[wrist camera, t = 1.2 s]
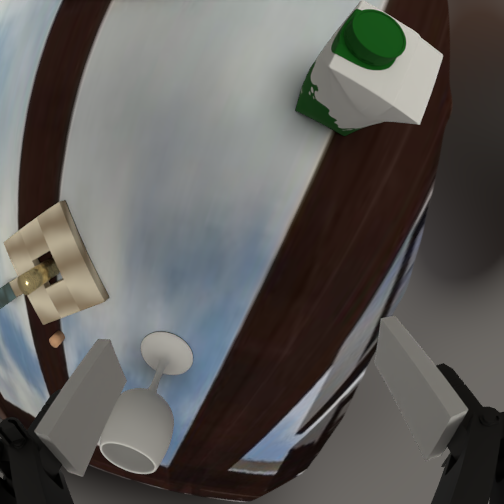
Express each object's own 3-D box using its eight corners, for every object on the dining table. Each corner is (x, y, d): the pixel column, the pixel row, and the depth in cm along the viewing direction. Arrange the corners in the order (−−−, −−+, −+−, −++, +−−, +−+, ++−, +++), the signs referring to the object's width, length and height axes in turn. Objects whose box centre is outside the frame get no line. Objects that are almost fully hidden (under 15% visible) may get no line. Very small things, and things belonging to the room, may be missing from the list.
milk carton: (312, 59, 31) (366, -21, 12) (372, 92, 32) (466, 49, 13) (285, 113, 33) (324, 60, 14) (348, 146, 34) (440, 136, 15)
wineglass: (202, 349, 43) (178, 462, 23) (179, 381, 45) (152, 485, 25) (152, 321, 41) (98, 424, 21) (134, 357, 43) (86, 453, 23)
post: (44, 261, 38) (14, 278, 31) (54, 254, 38) (24, 272, 30) (51, 277, 39) (23, 297, 32) (62, 271, 39) (34, 291, 31)
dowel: (54, 331, 42) (47, 339, 40) (60, 329, 42) (53, 337, 40) (60, 340, 43) (53, 348, 40) (66, 338, 43) (59, 346, 40)
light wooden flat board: (-10, 255, 38) (-31, 266, 32) (65, 200, 36) (39, 207, 29) (26, 328, 42) (8, 345, 36) (109, 297, 40) (90, 317, 34)
